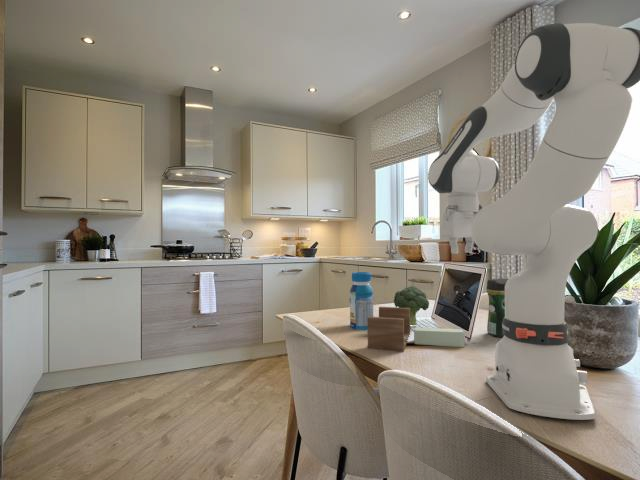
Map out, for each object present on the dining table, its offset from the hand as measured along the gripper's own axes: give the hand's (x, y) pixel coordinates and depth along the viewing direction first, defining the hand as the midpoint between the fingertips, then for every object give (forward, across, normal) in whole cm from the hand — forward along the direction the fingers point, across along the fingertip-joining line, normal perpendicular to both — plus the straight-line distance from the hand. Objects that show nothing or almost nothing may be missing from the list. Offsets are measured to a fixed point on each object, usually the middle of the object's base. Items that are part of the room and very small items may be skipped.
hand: (461, 253), depth 113 cm
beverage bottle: (+28, -5, +34) cm, 44 cm away
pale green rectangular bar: (+28, -4, +5) cm, 28 cm away
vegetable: (+28, +9, +23) cm, 37 cm away
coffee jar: (+28, +20, -5) cm, 35 cm away
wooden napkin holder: (+27, -12, +17) cm, 34 cm away
